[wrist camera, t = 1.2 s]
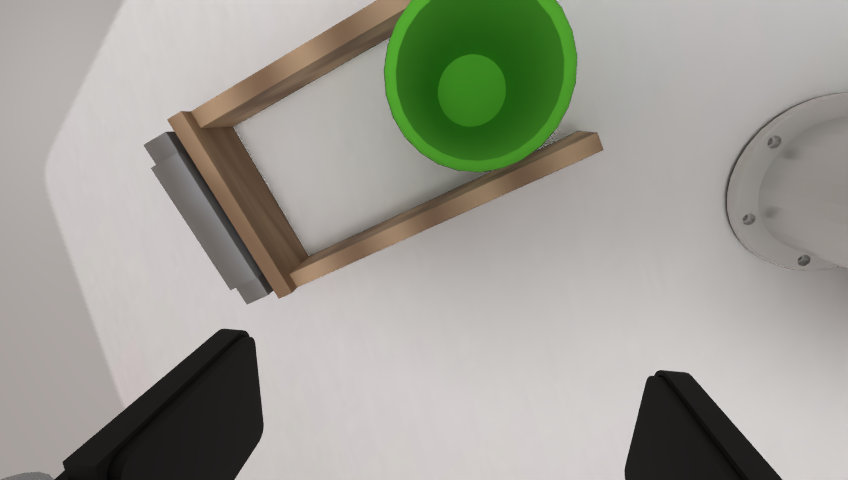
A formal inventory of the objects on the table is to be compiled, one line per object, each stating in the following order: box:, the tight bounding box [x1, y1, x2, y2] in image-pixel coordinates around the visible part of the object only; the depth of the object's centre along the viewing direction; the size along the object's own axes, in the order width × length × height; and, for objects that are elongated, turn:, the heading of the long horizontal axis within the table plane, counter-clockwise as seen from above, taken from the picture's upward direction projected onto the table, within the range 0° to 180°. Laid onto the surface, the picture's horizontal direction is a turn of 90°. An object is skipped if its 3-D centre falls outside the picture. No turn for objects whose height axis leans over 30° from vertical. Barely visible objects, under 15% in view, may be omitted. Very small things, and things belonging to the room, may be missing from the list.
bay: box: [144, 0, 603, 304], centre depth 28 cm, size 28×14×5 cm, turn 116°
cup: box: [384, 0, 577, 172], centre depth 23 cm, size 9×9×11 cm
